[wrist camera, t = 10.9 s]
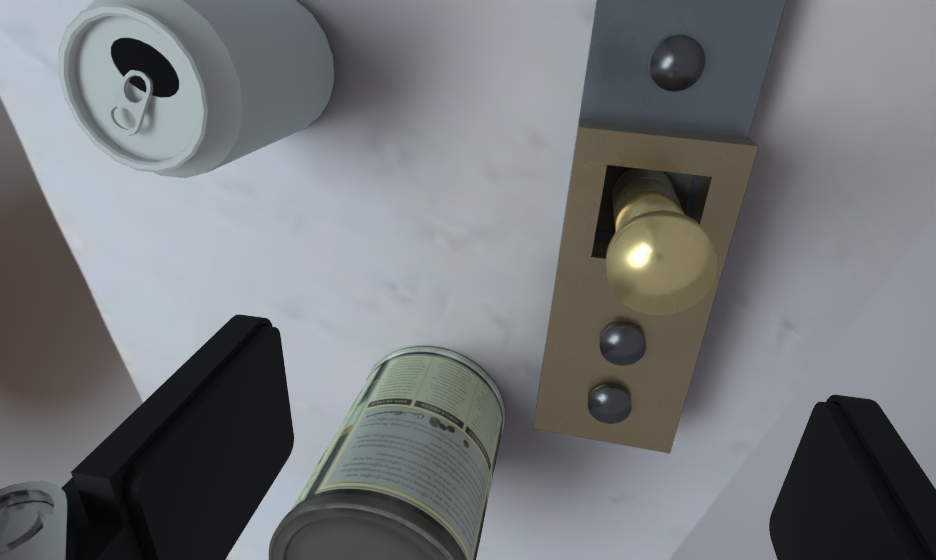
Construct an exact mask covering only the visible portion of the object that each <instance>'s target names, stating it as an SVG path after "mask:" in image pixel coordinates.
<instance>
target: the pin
mask: <svg viewBox="0 0 936 560" xmlns="http://www.w3.org/2000/svg"><path fill="white" fill-rule="evenodd" d="M612 200H613V211H614V221H615V232H616V233H615V234H614V236H613V237H612V239H611V241H610V243H609V246H608V249H607V254H606V269H607V278H608V282H609V285H610V287H611V289H612V291H613V293H614V294H615V295H616V297H617V298H618V299H619V300H620V301H621V302H622V303H623V304H625V305H626V306H628V307H629V308H631V309H633V310H635V311H637V312H640V313H643V314H648V315H657V316H658V315H671V314H675V313H679V312H681V311H684V310H686V309H688V308H690V307H692V306H693V305H695V304H697V303H698V302H699V301H700V300H701V299H702V298H703V297H704V296H705V295H706V294H707V293H708V291H709V290H710V289H711V287H712V285H713V283H714V280H715V277H716V273H717V256H716V252H715V249H714V247H713V245H712V243H711V241H710V239H709V237H708V235H707V233H706V232H705V230H704V229H703V228H702V227H701V225H699V224H698V223H697V222H696V221H695V220H693V219H692V218H690V217H688V216H686V215H685V214H684V212H683V210H682V207H681V205H680V203H679V200H678V198H677V196H676V193H675V191H674V188H673V186H672V184H671V182H670V180H669V178H668V177H667V176H666V174H665V173H663V172H662V171H657V170H648V169H639V168H632V169H630V170H628V171H626V172H625V173H624V174H622V175H621V176H620V177H619V179H618V180H617V181H616V183H615V185H614V188H613V193H612Z"/></svg>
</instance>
